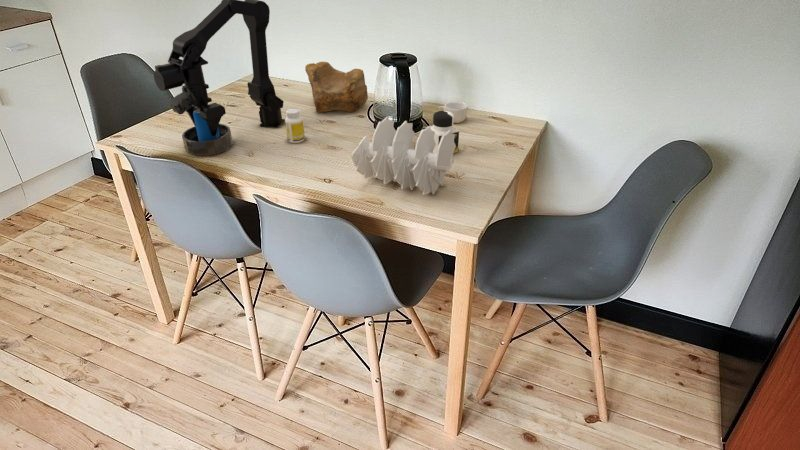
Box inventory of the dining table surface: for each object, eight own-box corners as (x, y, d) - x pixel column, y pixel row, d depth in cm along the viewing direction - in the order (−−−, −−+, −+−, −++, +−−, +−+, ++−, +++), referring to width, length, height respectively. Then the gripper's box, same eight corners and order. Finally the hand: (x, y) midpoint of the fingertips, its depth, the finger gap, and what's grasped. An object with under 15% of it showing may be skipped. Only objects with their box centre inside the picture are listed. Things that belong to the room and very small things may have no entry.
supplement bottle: (308, 138, 172) (304, 109, 166) (298, 144, 167) (294, 115, 162) (294, 135, 173) (290, 106, 168) (284, 141, 169) (280, 112, 164)
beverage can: (215, 150, 163) (208, 114, 156) (195, 148, 164) (188, 111, 157) (225, 141, 169) (218, 105, 162) (206, 139, 170) (199, 103, 163)
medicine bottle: (438, 157, 159) (439, 119, 152) (426, 148, 164) (426, 111, 157) (458, 152, 161) (460, 114, 155) (446, 143, 167) (447, 106, 160)
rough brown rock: (293, 114, 191) (286, 74, 181) (315, 95, 203) (310, 56, 193) (351, 125, 184) (348, 84, 174) (371, 104, 196) (369, 65, 186)
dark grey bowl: (240, 139, 171) (238, 124, 169) (219, 159, 160) (216, 143, 157) (200, 136, 174) (197, 121, 171) (176, 155, 162) (172, 140, 160)
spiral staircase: (377, 180, 155) (456, 196, 145) (344, 181, 140) (430, 199, 129) (386, 117, 152) (468, 129, 142) (353, 111, 137) (442, 123, 126)
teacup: (469, 118, 184) (470, 103, 181) (463, 126, 178) (464, 111, 175) (442, 114, 187) (442, 99, 184) (434, 122, 181) (435, 107, 178)
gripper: (152, 82, 156) (166, 131, 164) (185, 96, 145) (198, 148, 154) (187, 73, 163) (198, 121, 171) (221, 86, 152) (231, 136, 161)
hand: (205, 131), depth 164 cm, fingers open, 9 cm apart
